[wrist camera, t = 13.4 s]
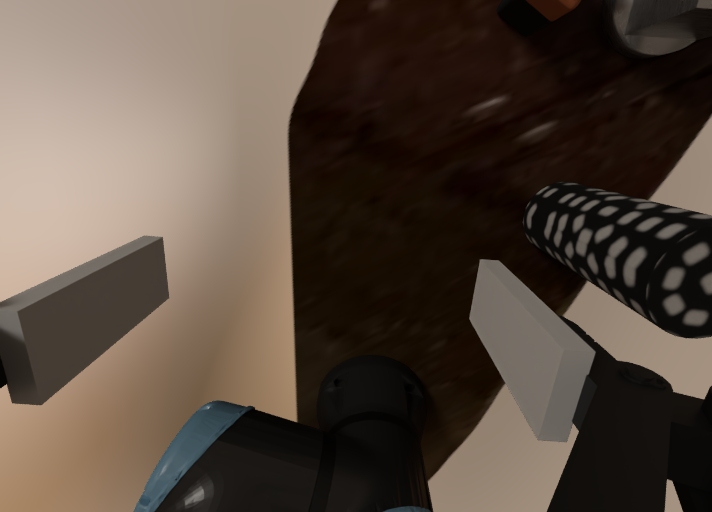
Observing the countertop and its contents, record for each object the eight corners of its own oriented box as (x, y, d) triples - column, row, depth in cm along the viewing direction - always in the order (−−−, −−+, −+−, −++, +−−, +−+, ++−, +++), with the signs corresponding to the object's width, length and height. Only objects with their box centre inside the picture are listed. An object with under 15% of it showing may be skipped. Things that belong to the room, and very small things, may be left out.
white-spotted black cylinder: (509, 211, 43) (624, 272, 24) (574, 166, 41) (752, 194, 22) (544, 264, 45) (676, 359, 26) (607, 223, 43) (798, 293, 24)
